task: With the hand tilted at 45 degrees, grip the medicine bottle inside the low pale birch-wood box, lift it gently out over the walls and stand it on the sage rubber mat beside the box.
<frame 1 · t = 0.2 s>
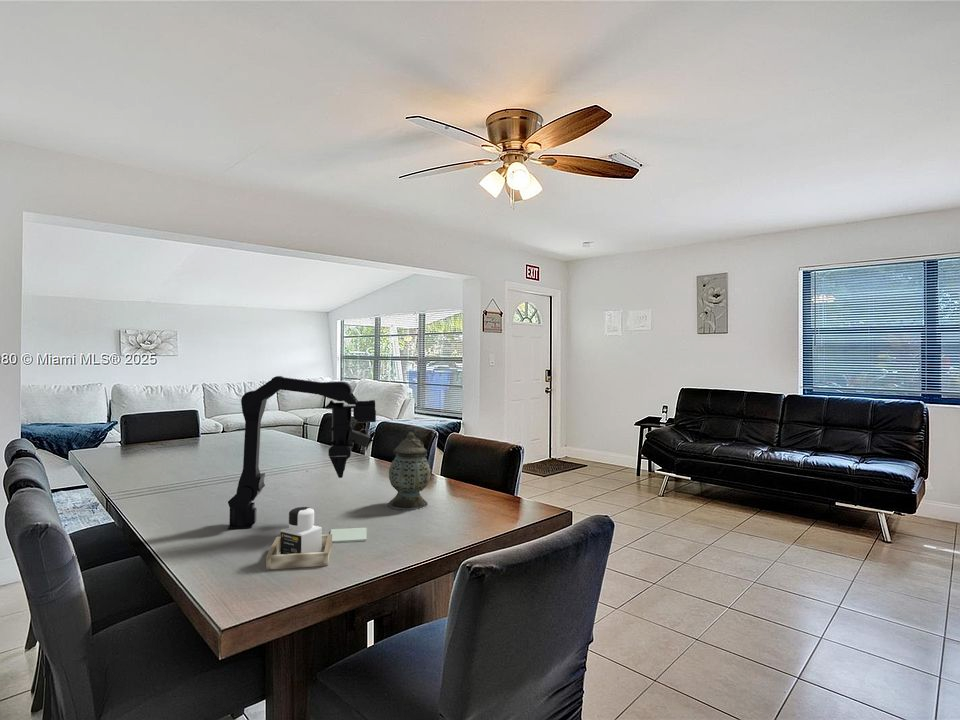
hand: (341, 474, 161), 15 cm above the table, tool pointing down, fingers open, 9 cm apart
birch box: (301, 556, 133), on the table
lantern: (409, 505, 181), on the table
medicine bottle: (301, 557, 133), resting in birch box
sage mat: (348, 535, 149), on the table
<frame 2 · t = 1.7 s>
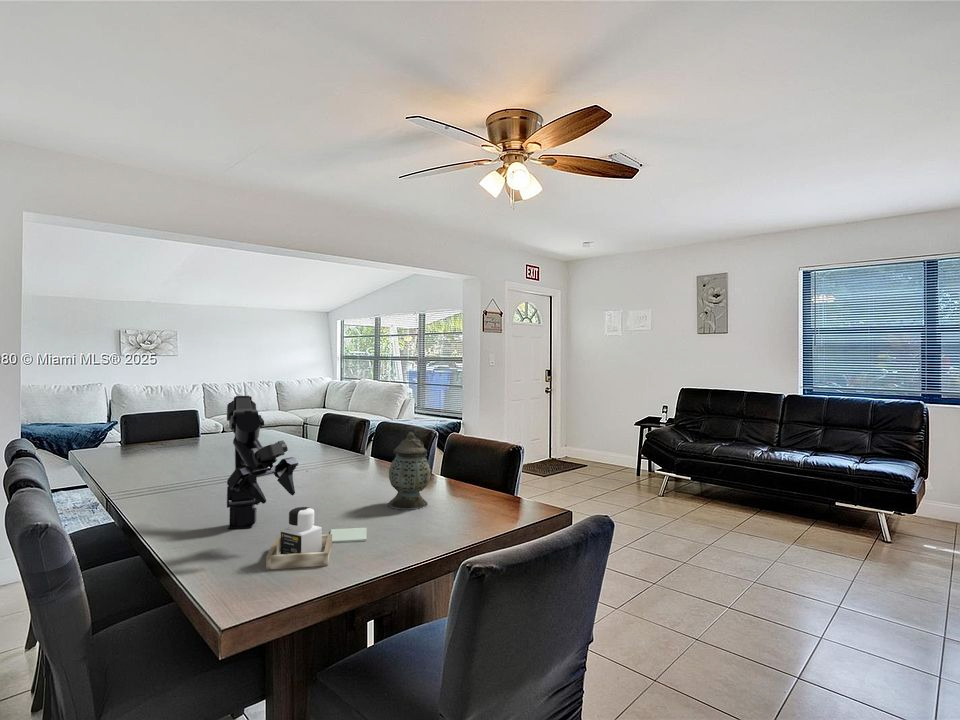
hand: (279, 498, 137), 13 cm above the table, tool tilted 45°, fingers open, 9 cm apart
nothing on the table moved.
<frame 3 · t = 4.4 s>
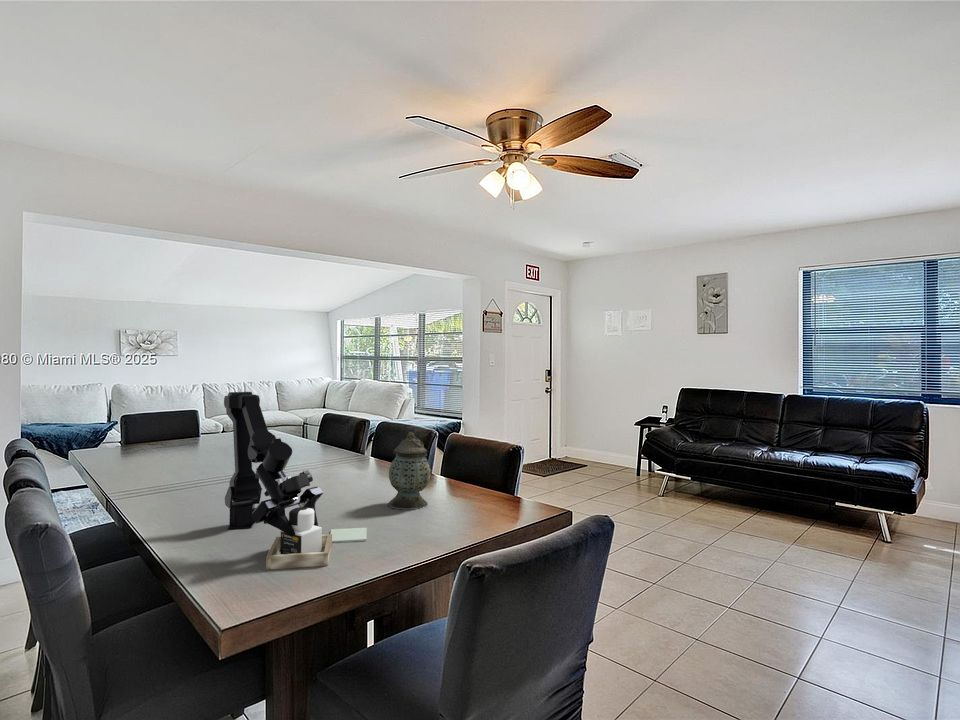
hand: (305, 531, 132), 7 cm above the table, tool tilted 45°, fingers closed on medicine bottle, 7 cm apart
medicine bottle: (301, 557, 133), resting in birch box, touching gripper
everything else where it was.
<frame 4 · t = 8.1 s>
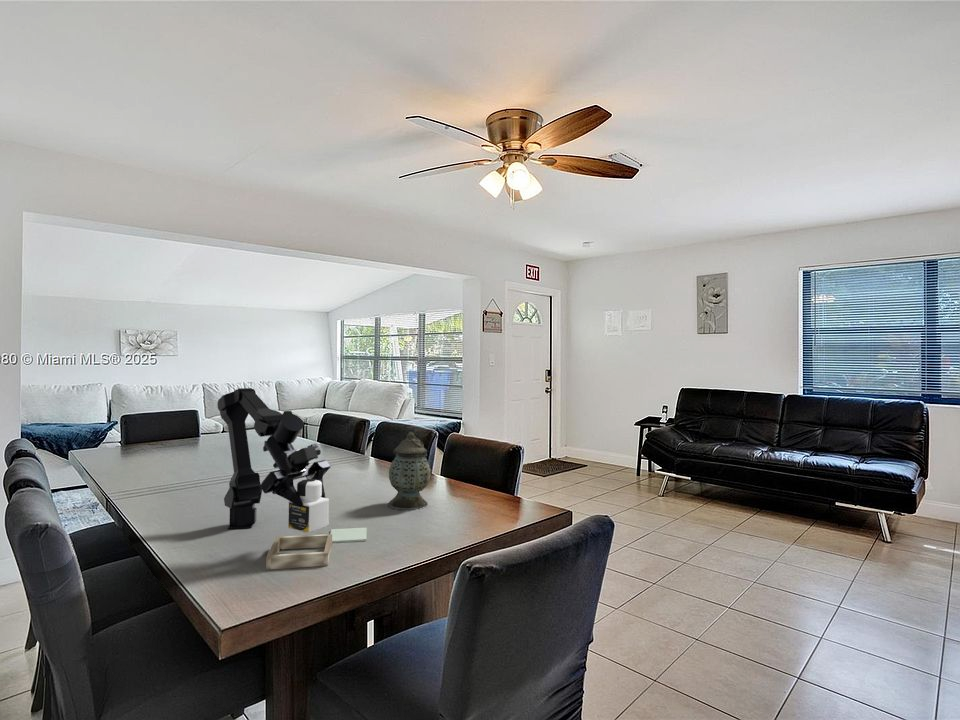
hand: (313, 502, 135), 13 cm above the table, tool tilted 45°, fingers closed on medicine bottle, 7 cm apart
medicine bottle: (308, 528, 136), point 6 cm above the table, touching gripper
everything else where it was.
when the fingers open (8 cm above the table, at t = 11.8 s): medicine bottle drops 1 cm, resting on sage mat.
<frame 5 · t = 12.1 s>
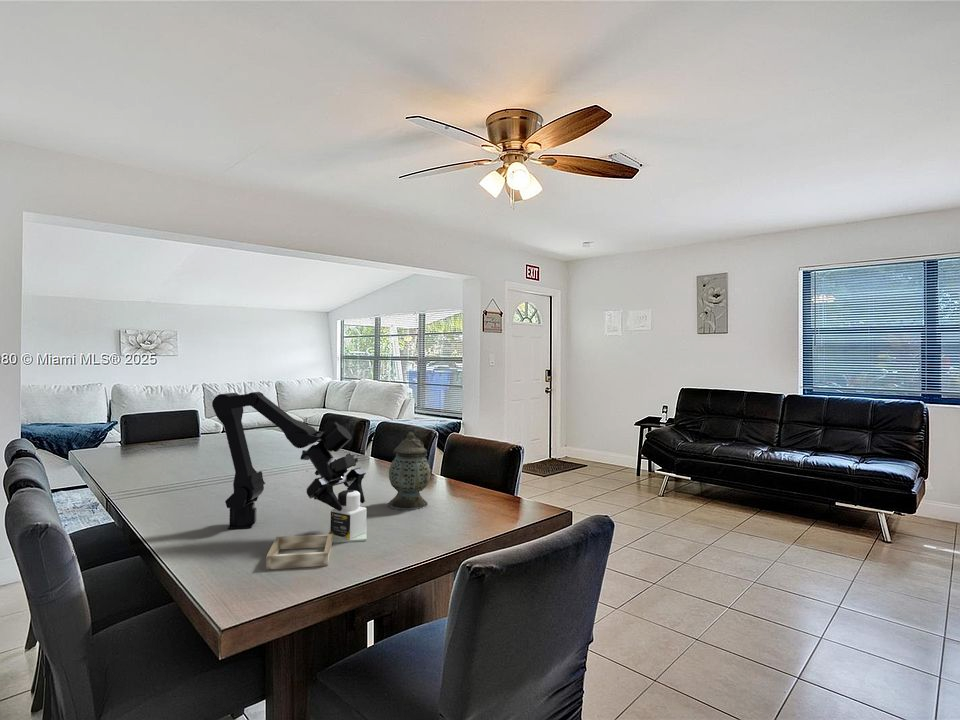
hand: (352, 506, 148), 9 cm above the table, tool tilted 45°, fingers open, 9 cm apart
medicine bottle: (348, 534, 149), resting on sage mat
everything else where it was.
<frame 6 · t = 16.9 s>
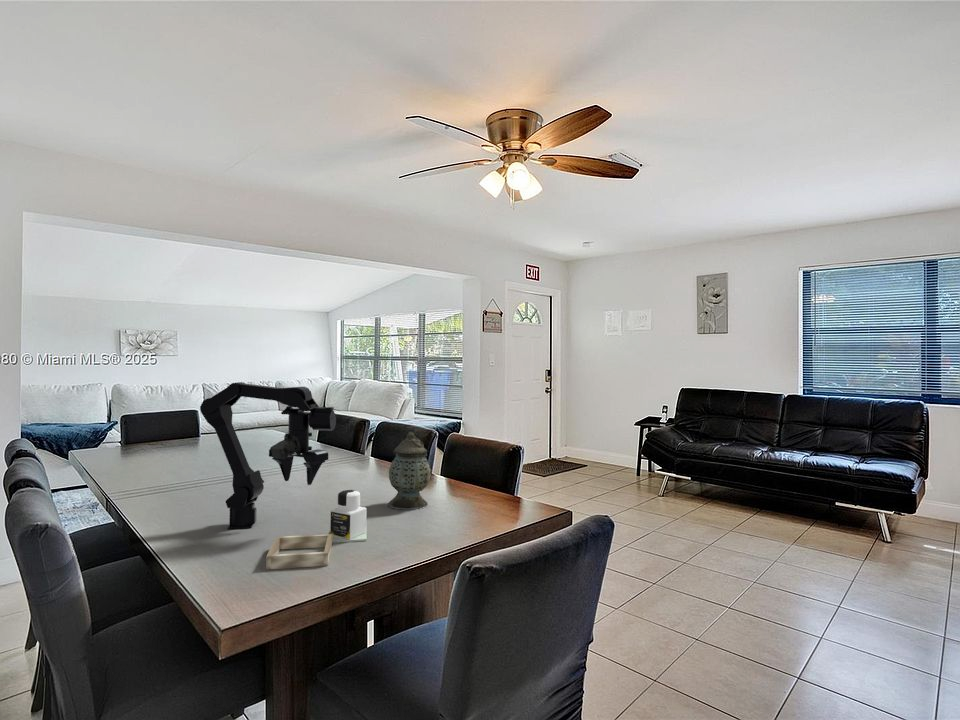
hand: (297, 482, 156), 13 cm above the table, tool pointing down, fingers open, 9 cm apart
nothing on the table moved.
at the end: medicine bottle inside the target area on the sage mat (0.1 cm from its centre), point 0.3 cm above the sage mat's base; medicine bottle tilted 0°; the gripper is holding nothing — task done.
